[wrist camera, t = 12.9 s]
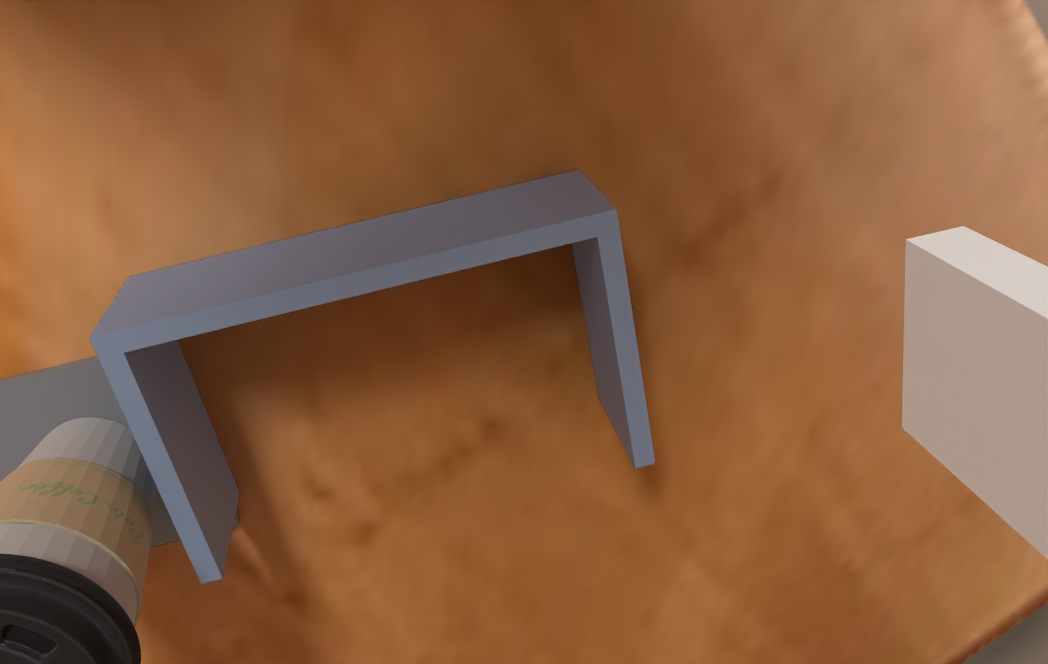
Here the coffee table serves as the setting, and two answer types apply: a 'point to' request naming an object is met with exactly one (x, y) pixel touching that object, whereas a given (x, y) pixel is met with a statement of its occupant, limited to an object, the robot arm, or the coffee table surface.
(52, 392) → the coaster
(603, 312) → the grey u-shaped wall
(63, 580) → the coffee cup
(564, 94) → the coffee table surface
